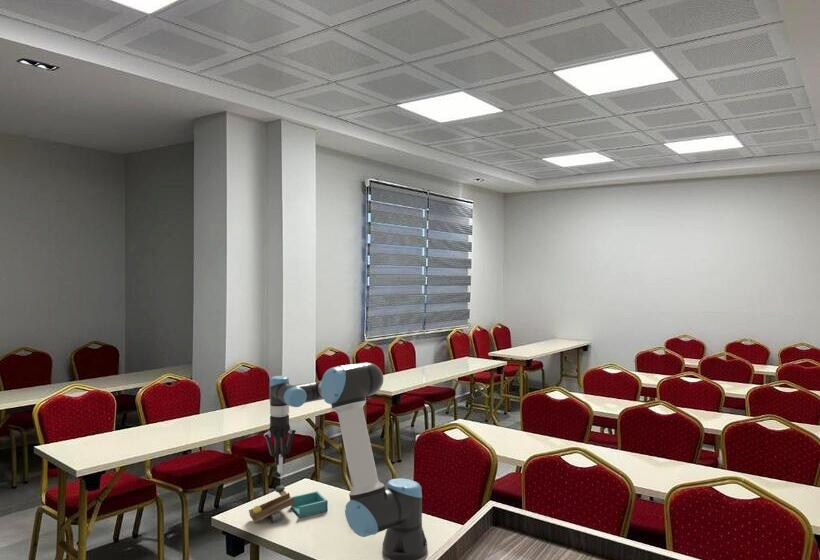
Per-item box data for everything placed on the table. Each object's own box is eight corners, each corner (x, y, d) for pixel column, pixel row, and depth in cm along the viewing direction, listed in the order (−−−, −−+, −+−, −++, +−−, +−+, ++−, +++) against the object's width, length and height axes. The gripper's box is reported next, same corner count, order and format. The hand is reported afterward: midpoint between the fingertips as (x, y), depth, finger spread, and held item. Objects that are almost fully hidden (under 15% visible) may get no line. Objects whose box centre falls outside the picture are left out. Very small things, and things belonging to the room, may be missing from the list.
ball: (263, 514, 209) (261, 506, 209) (255, 517, 208) (253, 509, 207) (261, 510, 212) (259, 503, 212) (252, 514, 210) (251, 506, 210)
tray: (327, 510, 218) (327, 500, 218) (300, 517, 213) (299, 507, 213) (317, 500, 228) (317, 491, 228) (290, 507, 222) (290, 497, 222)
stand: (282, 521, 210) (282, 512, 210) (271, 523, 208) (271, 515, 208) (274, 511, 218) (274, 503, 218) (264, 514, 216) (264, 505, 216)
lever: (297, 505, 215) (295, 497, 214) (255, 525, 206) (252, 516, 206) (284, 490, 229) (282, 482, 229) (243, 508, 221) (241, 499, 220)
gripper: (292, 410, 232) (292, 466, 233) (260, 414, 226) (261, 472, 226) (298, 414, 226) (298, 472, 227) (266, 419, 219) (266, 478, 220)
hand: (280, 472), depth 227 cm, fingers closed
